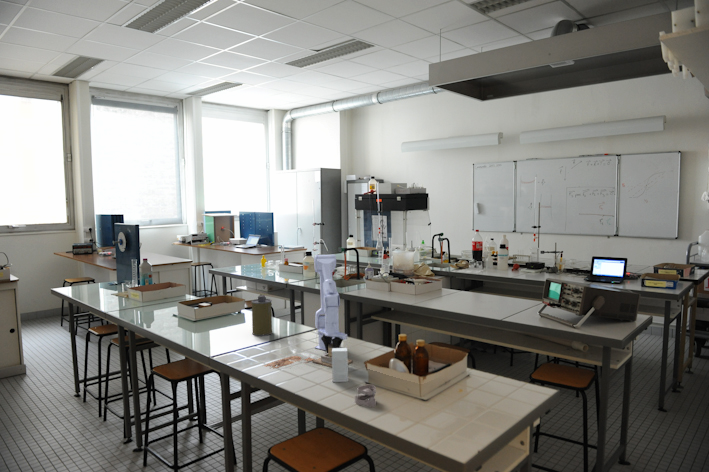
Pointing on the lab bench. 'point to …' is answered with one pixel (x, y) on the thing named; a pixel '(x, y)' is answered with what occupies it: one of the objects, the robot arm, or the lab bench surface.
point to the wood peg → (330, 349)
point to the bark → (286, 361)
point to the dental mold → (366, 396)
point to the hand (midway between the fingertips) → (332, 353)
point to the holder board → (326, 360)
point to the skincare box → (339, 365)
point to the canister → (261, 316)
